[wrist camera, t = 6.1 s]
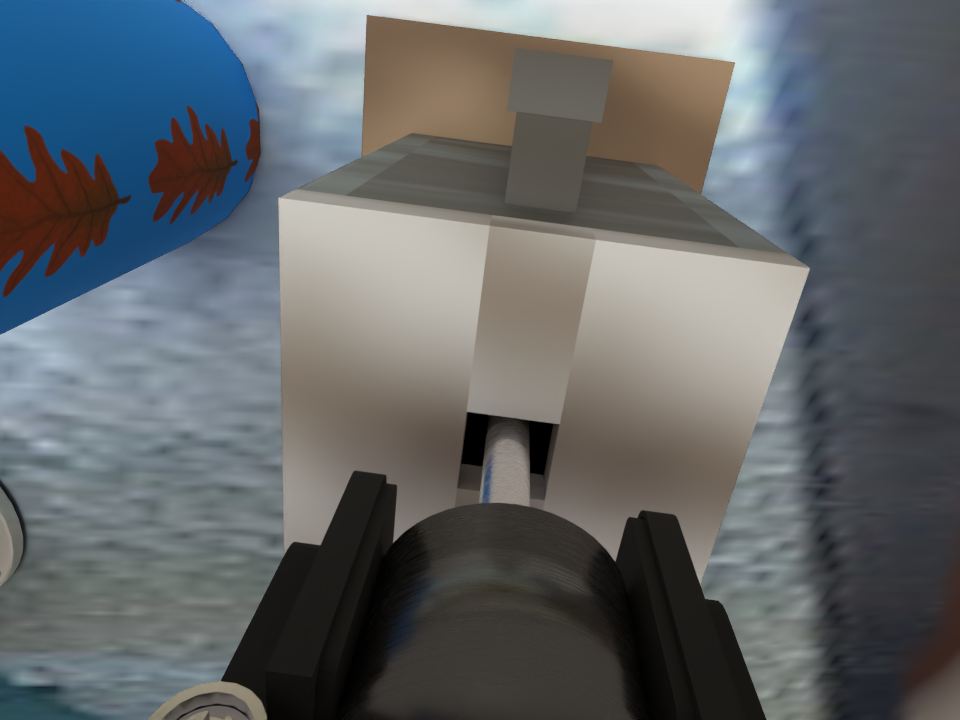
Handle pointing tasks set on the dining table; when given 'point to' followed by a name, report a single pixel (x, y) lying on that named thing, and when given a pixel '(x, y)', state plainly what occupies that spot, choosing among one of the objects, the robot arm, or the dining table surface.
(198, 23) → the thermos
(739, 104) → the dining table surface
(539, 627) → the grey rod with knob
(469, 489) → the stand
